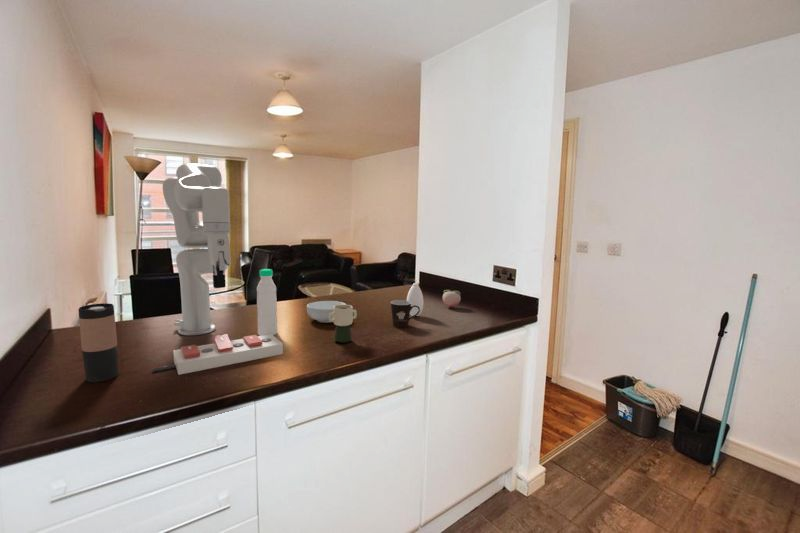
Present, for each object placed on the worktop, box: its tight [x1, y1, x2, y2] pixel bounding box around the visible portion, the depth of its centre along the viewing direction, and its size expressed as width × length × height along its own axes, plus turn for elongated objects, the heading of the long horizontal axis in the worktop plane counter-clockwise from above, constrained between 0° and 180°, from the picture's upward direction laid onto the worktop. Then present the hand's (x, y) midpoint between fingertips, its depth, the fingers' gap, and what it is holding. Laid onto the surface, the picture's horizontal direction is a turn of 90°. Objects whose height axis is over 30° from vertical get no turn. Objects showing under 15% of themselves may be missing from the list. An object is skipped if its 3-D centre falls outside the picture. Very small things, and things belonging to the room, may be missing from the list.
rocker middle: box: [213, 333, 233, 352], centre depth 118 cm, size 4×8×1 cm, turn 36°
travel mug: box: [78, 302, 120, 383], centre depth 103 cm, size 8×8×20 cm
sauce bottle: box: [406, 278, 424, 317], centre depth 173 cm, size 8×8×18 cm
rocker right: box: [242, 334, 262, 347], centre depth 124 cm, size 4×8×1 cm, turn 36°
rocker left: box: [180, 344, 200, 358], centre depth 114 cm, size 4×8×1 cm, turn 36°
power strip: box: [151, 334, 284, 376], centre depth 119 cm, size 36×12×4 cm, turn 126°
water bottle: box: [256, 268, 278, 336], centre depth 142 cm, size 7×7×25 cm
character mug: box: [329, 304, 358, 343], centre depth 137 cm, size 11×7×13 cm, turn 122°
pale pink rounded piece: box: [442, 289, 462, 309], centre depth 191 cm, size 9×8×10 cm
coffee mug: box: [390, 299, 420, 329], centre depth 158 cm, size 12×9×10 cm
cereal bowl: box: [306, 300, 347, 324], centre depth 164 cm, size 17×17×7 cm
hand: (219, 287), depth 118 cm, fingers closed
